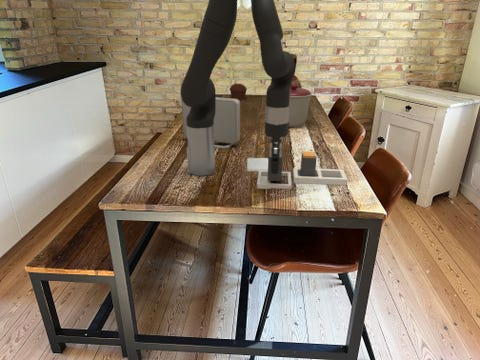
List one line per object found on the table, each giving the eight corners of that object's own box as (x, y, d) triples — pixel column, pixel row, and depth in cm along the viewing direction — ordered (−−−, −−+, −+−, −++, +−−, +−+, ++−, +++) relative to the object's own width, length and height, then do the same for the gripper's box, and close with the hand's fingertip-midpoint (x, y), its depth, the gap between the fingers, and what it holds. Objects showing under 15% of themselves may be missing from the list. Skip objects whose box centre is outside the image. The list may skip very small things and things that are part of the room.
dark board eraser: (267, 180, 116) (268, 154, 112) (267, 175, 120) (268, 150, 117) (281, 181, 116) (282, 155, 112) (281, 175, 120) (282, 150, 116)
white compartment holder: (293, 185, 117) (294, 177, 116) (292, 175, 125) (293, 167, 123) (346, 188, 116) (347, 179, 114) (342, 177, 123) (343, 169, 122)
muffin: (249, 98, 241) (249, 83, 237) (243, 101, 232) (243, 86, 228) (233, 96, 245) (232, 82, 241) (226, 100, 236) (226, 84, 232)
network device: (181, 142, 157) (178, 97, 149) (191, 136, 165) (188, 93, 156) (234, 149, 149) (234, 102, 140) (242, 143, 156) (242, 97, 148)
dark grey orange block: (300, 180, 118) (302, 155, 115) (300, 175, 122) (301, 150, 119) (314, 181, 118) (316, 156, 114) (313, 175, 122) (315, 151, 118)
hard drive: (247, 157, 138) (247, 170, 126) (268, 157, 137) (270, 170, 126) (247, 161, 138) (247, 174, 127) (268, 161, 138) (270, 174, 127)
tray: (256, 190, 114) (256, 184, 114) (258, 176, 124) (258, 170, 123) (291, 191, 113) (291, 185, 113) (290, 177, 123) (290, 171, 122)
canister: (280, 131, 172) (282, 87, 164) (269, 121, 189) (271, 80, 180) (315, 128, 176) (319, 85, 167) (302, 119, 192) (304, 79, 183)
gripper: (265, 113, 116) (264, 162, 124) (263, 126, 104) (262, 179, 111) (288, 114, 116) (285, 162, 123) (289, 126, 103) (286, 180, 110)
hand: (274, 170), depth 117 cm, fingers closed on dark board eraser, 4 cm apart
